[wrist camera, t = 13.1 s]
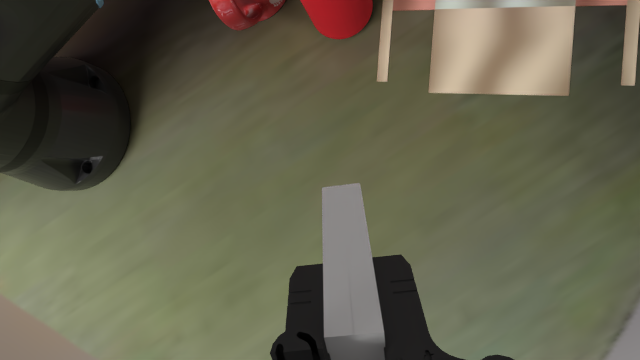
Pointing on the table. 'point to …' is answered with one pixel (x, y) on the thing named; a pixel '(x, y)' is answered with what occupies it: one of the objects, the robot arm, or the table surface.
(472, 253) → the table surface
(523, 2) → the wooden picture frame
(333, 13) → the beverage can
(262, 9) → the mug
